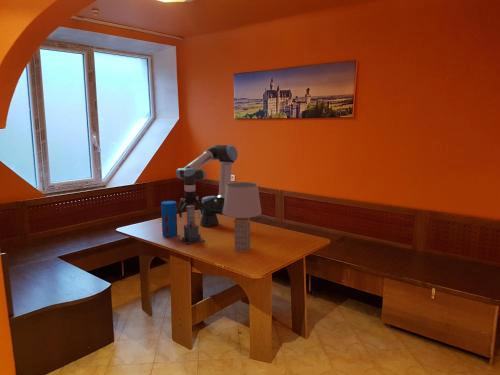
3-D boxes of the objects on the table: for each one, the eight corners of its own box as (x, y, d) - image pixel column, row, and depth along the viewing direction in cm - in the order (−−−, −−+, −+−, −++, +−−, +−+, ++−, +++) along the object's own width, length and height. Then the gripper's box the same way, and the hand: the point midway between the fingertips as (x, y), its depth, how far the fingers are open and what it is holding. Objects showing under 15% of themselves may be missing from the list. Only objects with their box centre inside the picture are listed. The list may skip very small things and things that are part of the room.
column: (193, 236, 280) (192, 205, 276) (196, 238, 275) (195, 206, 271) (186, 237, 277) (185, 206, 273) (189, 239, 273) (188, 207, 268)
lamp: (264, 244, 267) (265, 182, 259) (257, 257, 243) (257, 188, 235) (229, 242, 272) (228, 180, 264) (218, 254, 248) (217, 187, 240)
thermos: (174, 238, 282) (172, 204, 278) (160, 237, 284) (158, 203, 280) (179, 233, 293) (178, 201, 288) (166, 232, 295) (164, 200, 290)
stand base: (196, 236, 286) (195, 219, 284) (204, 241, 275) (204, 223, 272) (178, 239, 278) (177, 222, 276) (186, 245, 267) (185, 226, 265)
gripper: (203, 188, 280) (204, 216, 284) (170, 191, 266) (172, 221, 270) (208, 189, 274) (209, 218, 278) (175, 193, 260) (176, 224, 264)
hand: (190, 220), depth 274 cm, fingers open, 13 cm apart
